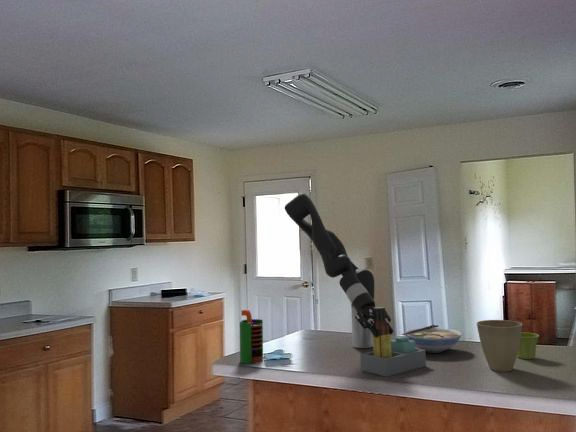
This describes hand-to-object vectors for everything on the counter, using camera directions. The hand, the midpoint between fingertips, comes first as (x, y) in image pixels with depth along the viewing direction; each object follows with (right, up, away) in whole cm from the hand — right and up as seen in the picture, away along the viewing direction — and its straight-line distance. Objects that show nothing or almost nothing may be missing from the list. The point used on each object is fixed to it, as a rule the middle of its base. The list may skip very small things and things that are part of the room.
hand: (384, 334), depth 194 cm
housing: (+4, -13, +4) cm, 14 cm away
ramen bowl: (+25, -13, +30) cm, 42 cm away
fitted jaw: (+8, -12, +7) cm, 16 cm away
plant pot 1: (+40, -12, -2) cm, 42 cm away
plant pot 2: (+56, -12, +13) cm, 58 cm away
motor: (-48, -15, +23) cm, 56 cm away
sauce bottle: (-1, -11, +1) cm, 11 cm away
